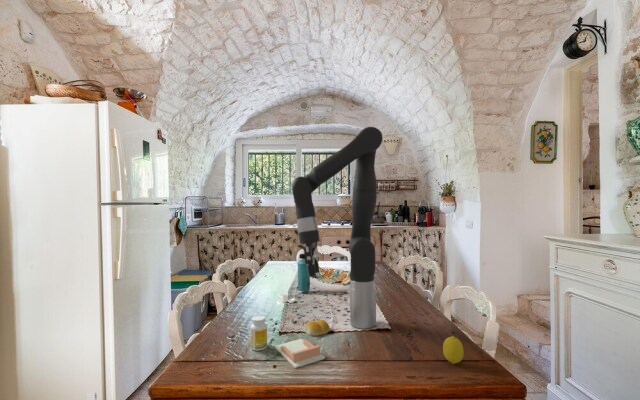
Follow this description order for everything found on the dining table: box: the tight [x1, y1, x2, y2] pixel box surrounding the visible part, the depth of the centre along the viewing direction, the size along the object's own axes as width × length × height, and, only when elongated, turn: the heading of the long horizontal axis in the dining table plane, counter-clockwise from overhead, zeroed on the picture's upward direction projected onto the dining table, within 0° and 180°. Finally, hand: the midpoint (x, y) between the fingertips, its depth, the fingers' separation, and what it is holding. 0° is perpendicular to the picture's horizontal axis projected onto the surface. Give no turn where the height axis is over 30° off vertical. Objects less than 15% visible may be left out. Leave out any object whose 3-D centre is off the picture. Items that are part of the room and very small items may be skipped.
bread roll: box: [303, 319, 330, 337], centre depth 116 cm, size 8×9×4 cm
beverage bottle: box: [296, 253, 311, 292], centre depth 164 cm, size 6×7×20 cm
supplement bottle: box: [249, 315, 268, 352], centre depth 103 cm, size 5×5×10 cm
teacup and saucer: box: [275, 293, 296, 306], centre depth 149 cm, size 9×8×4 cm
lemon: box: [442, 335, 465, 365], centre depth 92 cm, size 6×6×8 cm
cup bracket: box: [274, 338, 326, 369], centre depth 99 cm, size 15×10×3 cm, turn 31°
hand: (314, 274), depth 116 cm, fingers open, 8 cm apart
